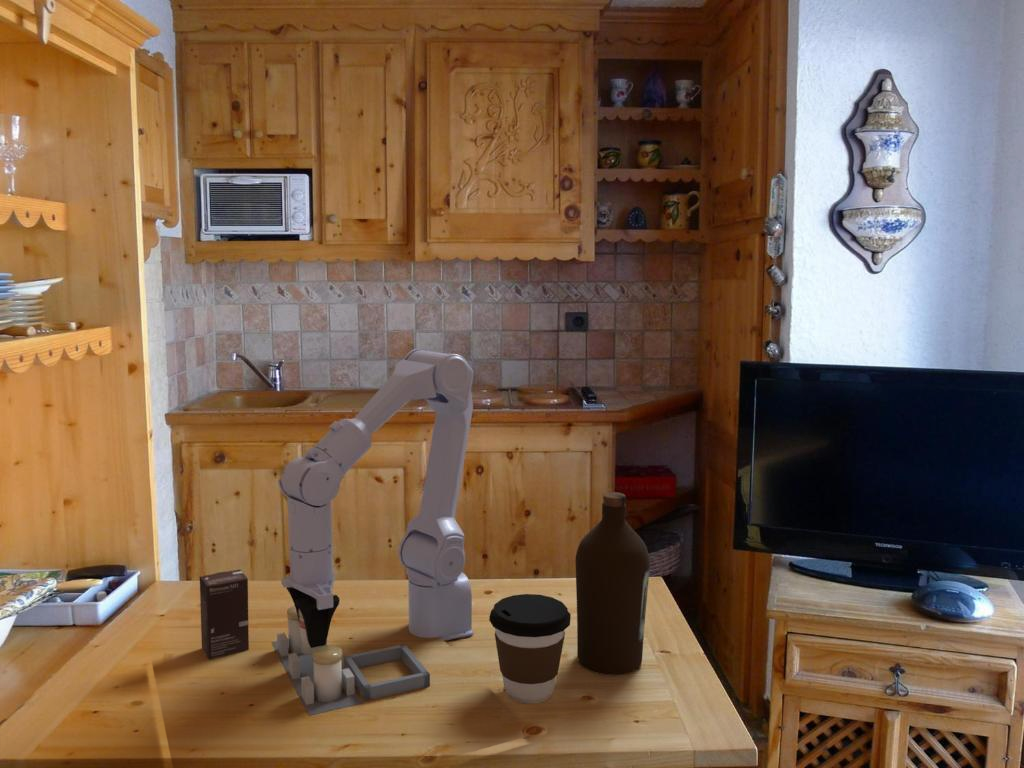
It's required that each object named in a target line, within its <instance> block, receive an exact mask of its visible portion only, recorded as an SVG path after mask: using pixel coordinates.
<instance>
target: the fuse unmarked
mask: <svg viewBox="0 0 1024 768" xmlns="http://www.w3.org/2000/svg"><path fill="white" fill-rule="evenodd" d="M312 658H313V667H314V698H315V699H316V700H318V701H321V702H330V701H334V700H337V699H339V698H340V697H341V696H342V659H343V649H342V648H340V647H339V646H335V645H334V646H333V645H327V646H322V647H319V648H317V649H315V650H314V651H313V653H312Z"/></svg>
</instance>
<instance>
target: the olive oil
mask: <svg viewBox="0 0 1024 768" xmlns="http://www.w3.org/2000/svg"><path fill="white" fill-rule="evenodd" d="M626 498H627V497H626V495H625V494H624V493H621V492H616V491H613V492H612V491H610V492H609V491H608V492H605V493H604V494H603V495H602V500H603V502H602V503H601V505H602V506H601V520H600V521H599V522H597V524H596V525H595V526H594V527H593V528H591V530H589V531H588V532H587V534H585V536H584V537H583V538H582V539H581V540H580V542H579V545H578V547H577V550H576V553H575V583H576V584H575V586H576V587H575V589H576V591H575V592H576V595H575V596H576V623H577V625H576V626H577V627H576V629H577V630H576V631H577V632H576V633H577V634H576V635H577V636H576V637H577V640H576V641H577V643H576V644H577V649H576V650H577V651H576V652H577V653H576V654H577V661H578V663H579V665H581V667H583V668H585V669H586V670H588V671H590V672H593V673H597V674H601V675H607V676H620V675H626V674H630V673H633V672H635V671H636V670H638V669H640V667H641V665H642V662H643V651H644V636H645V625H646V622H645V621H646V611H647V603H648V602H647V600H648V592H649V591H648V590H649V578H650V570H651V569H650V568H651V565H650V564H651V563H650V562H651V561H650V554H649V551H648V547H647V545H646V543H645V541H644V540H643V539H642V538H641V536H640V535H638V533H637V531H635V530H634V529H633V528H632V526H630V524H629V523H628V522H627V520H626V513H627V512H626V511H627V504H626Z"/></svg>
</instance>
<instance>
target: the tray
mask: <svg viewBox="0 0 1024 768" xmlns="http://www.w3.org/2000/svg"><path fill="white" fill-rule="evenodd" d="M398 660H401V661H402V662H403V663H404V664H405V665H406V666H407V668H408V669H409V670H410V671H411V673H412V674H410V675H405V676H401V677H396V678H392V679H388V680H387V679H386V680H383V681H379V682H372V683H369V682H368V680H367V679H366V677H365V676H364V674H363V673H362V671H361V670H360V669H359V668H363V667H369V666H373V665H377V664H378V665H379V664H382V663H388V662H392V661H398ZM346 668H349V669H350V671H351V672H352V674H353V675H354V686H355V687H356V688H357V690H358V691H359V694H360V695H361V697H362V698H363V699H364V700H365V702H366V701H370V700H375V699H378V698H384V697H389V696H392V695H393V696H394V695H397V694H401V693H406V692H410V691H415V690H418V689H424V688H428V687H431V673H430V672H429V671H428V670H427V669H426V667H425V666H424V665H423V664H422V663H421V662H420V661H419V660H418V658H417V657H416V656H415V655H414V653H413V652H412V651H411V649H409V647H408V646H407V645H406V644H405V643H402V644H398V645H394V646H389V647H384V648H378V649H374V650H369V651H364V652H360V653H353V654H348V655H344V656H343V669H346Z"/></svg>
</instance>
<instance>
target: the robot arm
mask: <svg viewBox="0 0 1024 768" xmlns="http://www.w3.org/2000/svg"><path fill="white" fill-rule="evenodd" d="M392 372H393V373H392V374H391V376H389V378H388V379H387V380H386V382H385V383H383V384H382V386H381V387H380V388H379V389H378V390H377V392H376V393H375V394H374V395H373V396H372V397H371V399H369V400H368V402H367V403H365V405H364V407H363V408H362V409H361V410H360V411H359V412H358V413H357V414H356V416H354V417H353V418H342V419H340V420H339V421H335V420H334V421H333V422H332V423H331V424H330V425H329V426H328V429H329V431H328V432H327V433H326V434H325V435H324V436H323V437H321V439H319V441H318V442H317V443H315V444H314V445H313V447H309V448H308V449H307V450H306V451H305V455H304V456H300V457H296V458H294V459H292V460H290V462H288V463H287V464H286V466H285V468H284V469H283V471H282V474H281V478H278V481H277V482H278V486H279V489H280V491H281V492H282V494H283V495H285V497H286V499H287V500H286V501H287V502H286V503H287V511H288V516H287V517H288V540H289V542H288V545H289V571H290V572H289V573H290V574H289V576H288V577H283V578H281V585H282V587H283V588H285V589H286V590H287V591H288V593H289V595H290V597H291V600H292V601H293V604H294V605H293V606H295V608H296V612H297V616H298V620H299V609H300V611H301V614H302V616H303V619H304V623H305V628H306V634H307V639H308V643H309V645H310V647H311V648H314V647H319V646H324V645H325V644H326V641H327V642H328V636H329V631H330V627H331V626H330V625H331V623H332V619H333V616H334V614H335V612H336V611H337V608H338V607H339V605H340V597H339V596H338V594H334V593H333V590H334V583H335V580H336V579H335V572H334V563H333V561H334V559H333V556H334V555H333V527H332V526H333V525H332V524H333V523H332V522H333V521H332V520H333V519H332V515H333V514H332V500H334V499H335V498H336V497H337V496H338V493H339V490H340V487H341V482H342V481H343V479H344V478H345V475H346V474H347V473H348V472H349V471H350V470H351V469H352V468H353V467H354V466H355V465H356V464H357V462H359V460H360V459H361V458H362V457H363V456H364V455H365V454H366V453H367V452H368V451H369V450H370V449H372V436H373V434H374V433H376V432H377V431H378V430H379V429H380V428H381V427H382V426H383V425H384V424H386V423H387V422H388V421H389V420H391V418H393V416H394V415H396V414H397V413H398V412H400V410H401V409H402V408H404V406H406V405H407V404H408V403H409V402H410V401H414V400H425V401H426V403H427V404H428V405H429V406H430V408H432V410H433V412H434V414H435V418H434V422H433V423H434V425H433V430H432V436H431V443H430V448H429V455H428V460H427V466H426V471H425V478H424V484H423V489H422V490H423V491H422V497H421V502H420V508H419V513H418V514H416V516H414V517H413V518H412V519H411V520H409V521H408V522H407V528H406V531H405V534H404V536H403V537H402V540H401V541H400V543H399V546H398V559H399V562H400V563H401V565H402V566H404V568H405V569H406V571H405V572H406V573H405V574H406V575H407V576H408V577H407V578H408V583H407V585H408V587H407V588H408V589H407V590H408V632H409V633H410V634H412V635H413V636H416V637H419V638H423V639H437V638H441V639H442V640H443V641H445V642H447V641H449V640H455V639H459V638H464V637H470V636H473V635H474V630H472V628H473V626H472V625H473V624H472V621H473V620H472V619H473V618H472V617H473V616H472V615H473V614H472V612H473V611H472V609H473V608H472V607H473V605H472V604H473V603H472V602H473V601H472V600H473V597H472V596H473V594H472V587H471V583H470V581H469V578H468V576H467V575H466V574H465V573H464V572H463V571H464V568H465V564H466V552H465V548H464V546H465V545H464V544H465V539H466V538H465V534H464V532H463V529H461V527H460V526H459V524H458V523H457V521H456V513H457V506H458V500H459V496H460V489H461V483H462V478H463V477H462V476H463V472H464V471H463V470H464V464H465V459H466V453H467V447H468V440H469V435H470V429H471V422H472V417H473V411H474V401H473V396H472V387H473V386H472V385H473V380H474V379H473V378H474V375H475V372H474V370H473V369H472V367H471V366H470V365H469V362H467V359H465V358H464V357H463V356H462V355H460V354H456V353H444V352H436V351H430V350H426V349H424V348H415V349H412V350H410V351H409V352H407V353H406V354H405V355H404V357H403V359H401V360H399V361H397V363H395V365H394V370H393V371H392ZM299 624H300V623H299Z"/></svg>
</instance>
